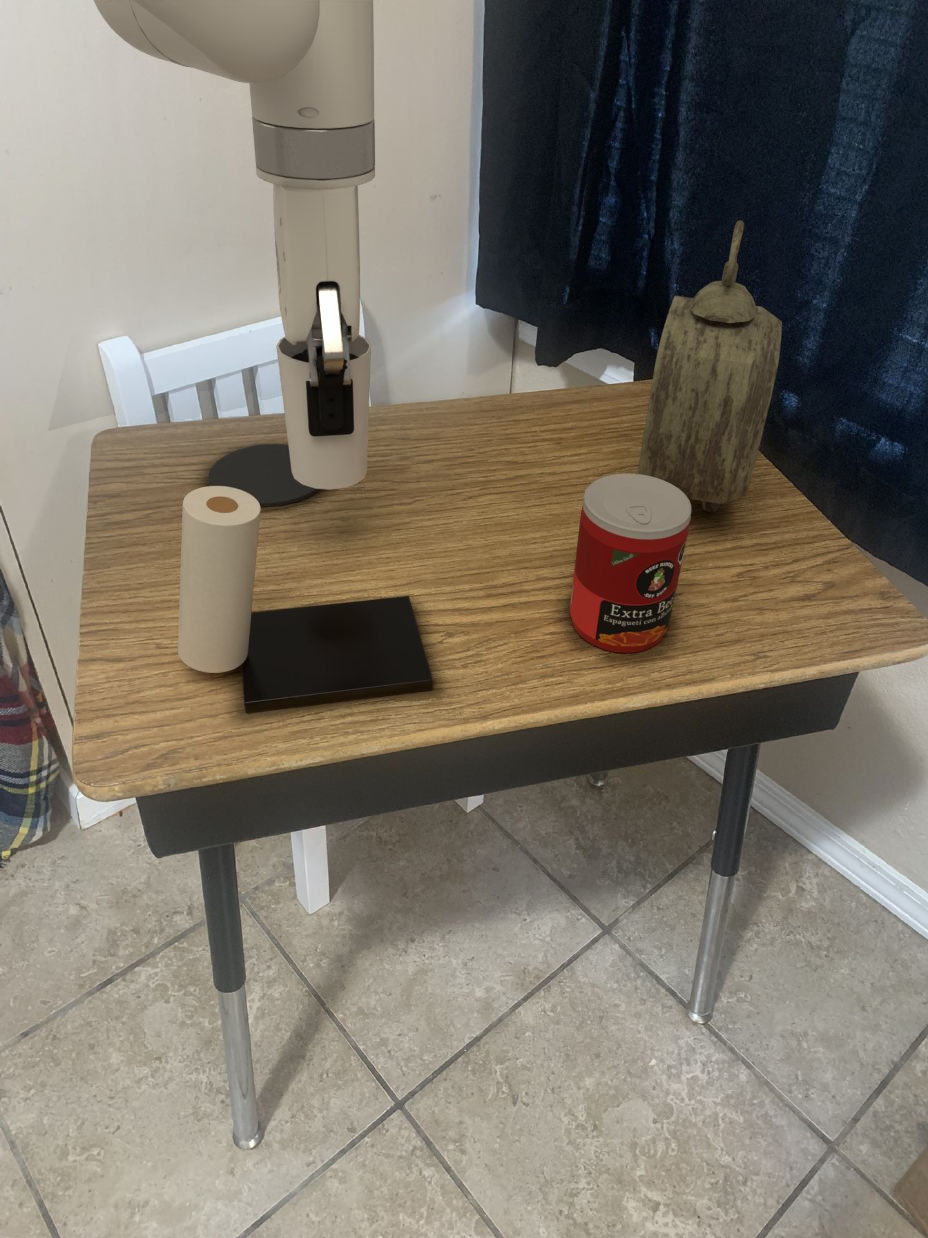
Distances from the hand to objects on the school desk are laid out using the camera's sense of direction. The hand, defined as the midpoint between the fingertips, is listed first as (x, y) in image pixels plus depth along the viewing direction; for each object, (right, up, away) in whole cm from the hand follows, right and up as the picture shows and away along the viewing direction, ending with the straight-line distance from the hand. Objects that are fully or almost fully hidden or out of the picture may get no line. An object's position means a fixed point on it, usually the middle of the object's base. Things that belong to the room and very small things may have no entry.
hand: (326, 411), depth 72 cm
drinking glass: (0, -4, +3) cm, 5 cm away
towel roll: (-4, -13, -6) cm, 15 cm away
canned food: (+22, -16, +3) cm, 27 cm away
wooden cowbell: (+31, -5, +17) cm, 35 cm away
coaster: (-8, -2, +19) cm, 21 cm away
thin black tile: (+1, -18, -1) cm, 18 cm away
